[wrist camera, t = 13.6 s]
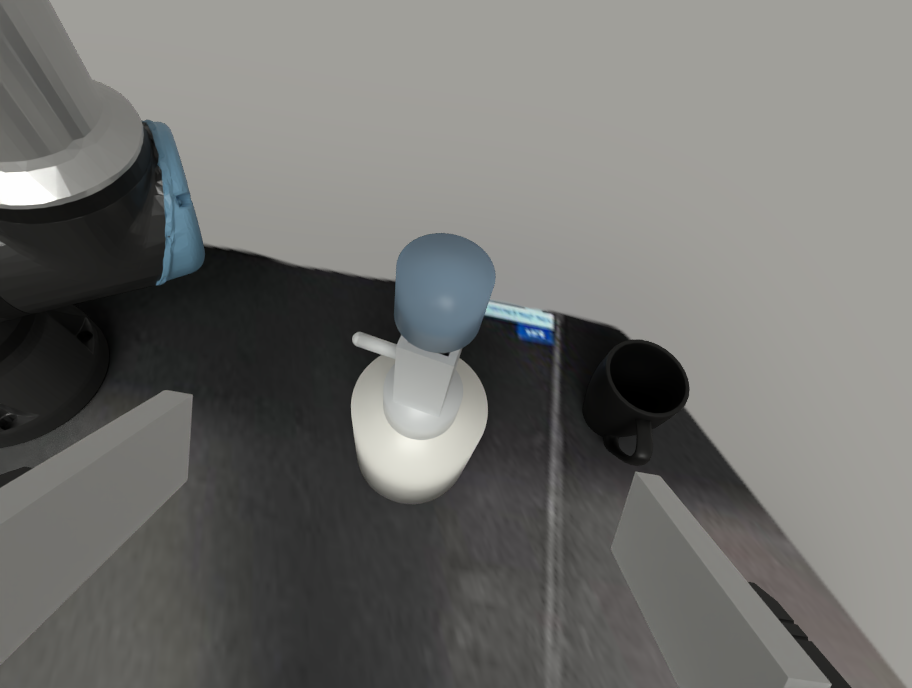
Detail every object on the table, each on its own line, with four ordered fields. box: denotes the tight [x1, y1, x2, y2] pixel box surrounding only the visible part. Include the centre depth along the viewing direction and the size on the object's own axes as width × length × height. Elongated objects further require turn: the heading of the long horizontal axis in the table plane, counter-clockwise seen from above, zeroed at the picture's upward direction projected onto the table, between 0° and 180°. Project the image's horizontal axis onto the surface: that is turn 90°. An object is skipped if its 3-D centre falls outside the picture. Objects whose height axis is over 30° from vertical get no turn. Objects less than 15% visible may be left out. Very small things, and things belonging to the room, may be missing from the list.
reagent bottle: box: [351, 332, 488, 504], centre depth 38 cm, size 11×11×22 cm
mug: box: [583, 340, 689, 466], centre depth 47 cm, size 8×12×10 cm
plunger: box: [394, 233, 495, 355], centre depth 29 cm, size 5×5×13 cm
